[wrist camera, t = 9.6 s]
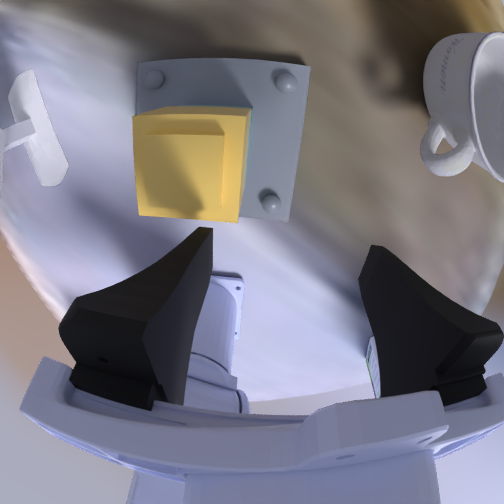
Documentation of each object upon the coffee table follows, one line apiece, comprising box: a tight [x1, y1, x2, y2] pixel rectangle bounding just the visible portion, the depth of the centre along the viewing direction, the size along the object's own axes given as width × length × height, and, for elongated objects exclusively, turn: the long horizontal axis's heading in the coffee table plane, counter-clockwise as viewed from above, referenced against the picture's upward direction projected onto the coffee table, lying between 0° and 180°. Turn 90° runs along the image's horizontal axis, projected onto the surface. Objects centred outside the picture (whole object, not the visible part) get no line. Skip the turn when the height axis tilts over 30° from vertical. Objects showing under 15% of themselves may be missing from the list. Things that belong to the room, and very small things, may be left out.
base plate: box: [136, 58, 311, 222], centre depth 17 cm, size 12×12×5 cm
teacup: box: [420, 32, 504, 183], centre depth 12 cm, size 14×11×8 cm
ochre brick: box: [133, 106, 251, 223], centre depth 13 cm, size 5×5×5 cm
